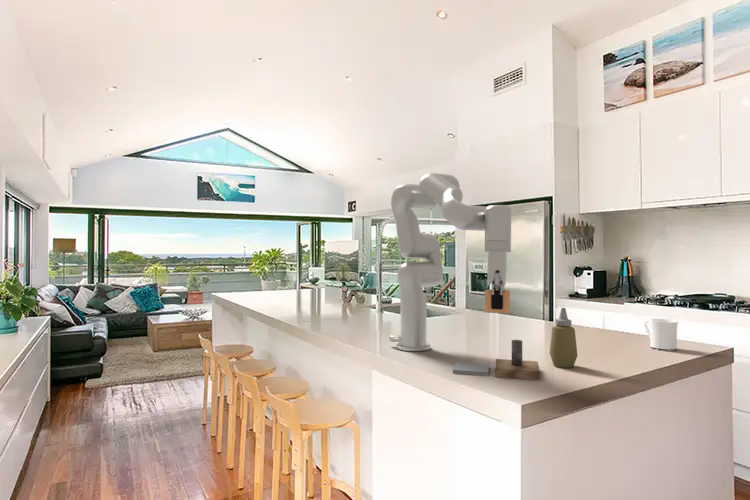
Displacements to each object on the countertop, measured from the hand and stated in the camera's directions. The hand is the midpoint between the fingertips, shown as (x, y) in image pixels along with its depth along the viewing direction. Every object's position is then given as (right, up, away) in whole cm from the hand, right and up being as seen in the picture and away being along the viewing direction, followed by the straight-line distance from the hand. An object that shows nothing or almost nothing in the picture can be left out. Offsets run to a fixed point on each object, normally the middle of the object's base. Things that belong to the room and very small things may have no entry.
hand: (497, 306), depth 141 cm
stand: (+5, -19, -2) cm, 20 cm away
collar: (0, -1, 0) cm, 1 cm away
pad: (-7, -19, +2) cm, 21 cm away
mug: (+68, -19, +34) cm, 78 cm away
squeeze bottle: (+22, -19, +7) cm, 30 cm away
